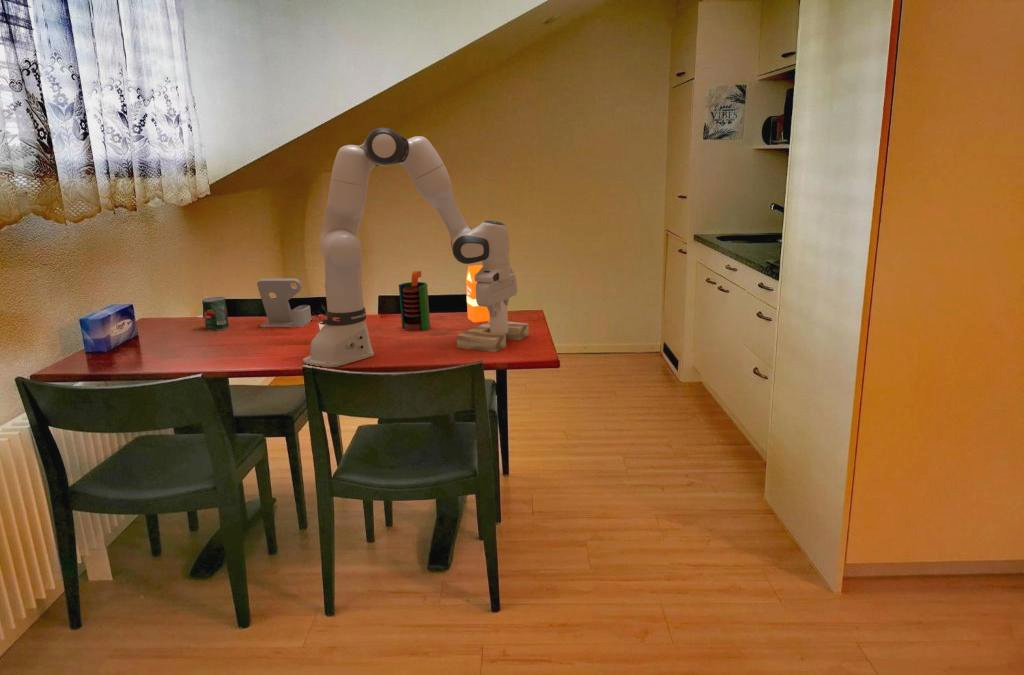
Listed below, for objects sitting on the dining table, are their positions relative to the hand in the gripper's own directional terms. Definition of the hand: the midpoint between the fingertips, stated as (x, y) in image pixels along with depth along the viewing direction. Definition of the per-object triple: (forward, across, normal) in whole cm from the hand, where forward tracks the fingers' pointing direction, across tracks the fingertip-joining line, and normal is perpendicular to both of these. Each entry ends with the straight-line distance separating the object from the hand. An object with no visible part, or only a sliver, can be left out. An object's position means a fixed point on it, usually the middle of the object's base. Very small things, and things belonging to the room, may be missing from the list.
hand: (498, 314), depth 235 cm
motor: (+9, -5, -37) cm, 38 cm away
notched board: (+9, 0, -2) cm, 9 cm away
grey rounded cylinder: (+6, 0, 0) cm, 6 cm away
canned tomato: (+9, +24, -106) cm, 109 cm away
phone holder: (+9, +9, -86) cm, 87 cm away
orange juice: (+9, -25, -22) cm, 35 cm away
